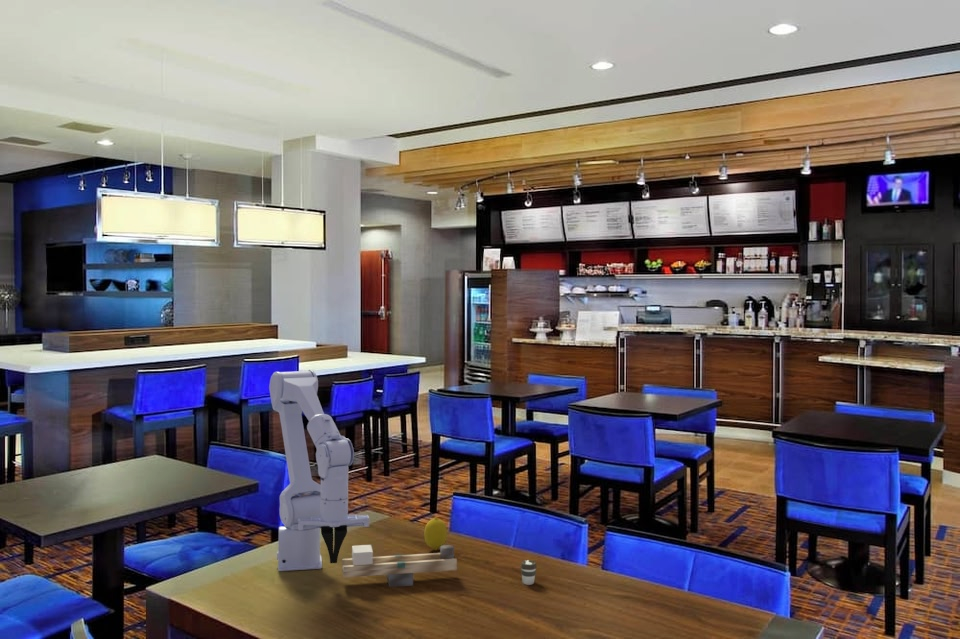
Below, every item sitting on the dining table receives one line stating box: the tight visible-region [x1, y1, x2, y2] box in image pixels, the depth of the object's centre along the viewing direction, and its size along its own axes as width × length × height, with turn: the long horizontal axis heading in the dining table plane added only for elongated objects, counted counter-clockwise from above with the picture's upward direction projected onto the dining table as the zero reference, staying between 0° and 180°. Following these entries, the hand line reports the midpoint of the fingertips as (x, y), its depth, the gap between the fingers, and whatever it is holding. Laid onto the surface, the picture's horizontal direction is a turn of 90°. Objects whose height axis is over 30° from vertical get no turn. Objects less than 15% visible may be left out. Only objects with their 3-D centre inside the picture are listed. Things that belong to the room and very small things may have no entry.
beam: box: [341, 544, 458, 588], centre depth 160 cm, size 24×6×7 cm, turn 103°
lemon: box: [423, 516, 448, 551], centre depth 180 cm, size 6×6×8 cm
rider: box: [351, 544, 374, 565], centre depth 158 cm, size 4×5×4 cm
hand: (333, 561), depth 157 cm, fingers closed
